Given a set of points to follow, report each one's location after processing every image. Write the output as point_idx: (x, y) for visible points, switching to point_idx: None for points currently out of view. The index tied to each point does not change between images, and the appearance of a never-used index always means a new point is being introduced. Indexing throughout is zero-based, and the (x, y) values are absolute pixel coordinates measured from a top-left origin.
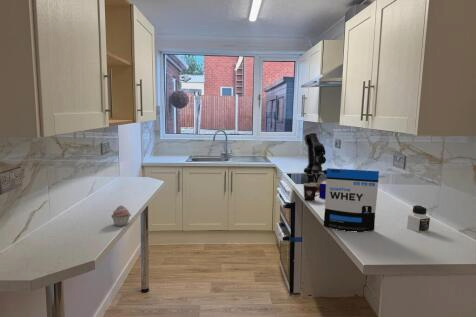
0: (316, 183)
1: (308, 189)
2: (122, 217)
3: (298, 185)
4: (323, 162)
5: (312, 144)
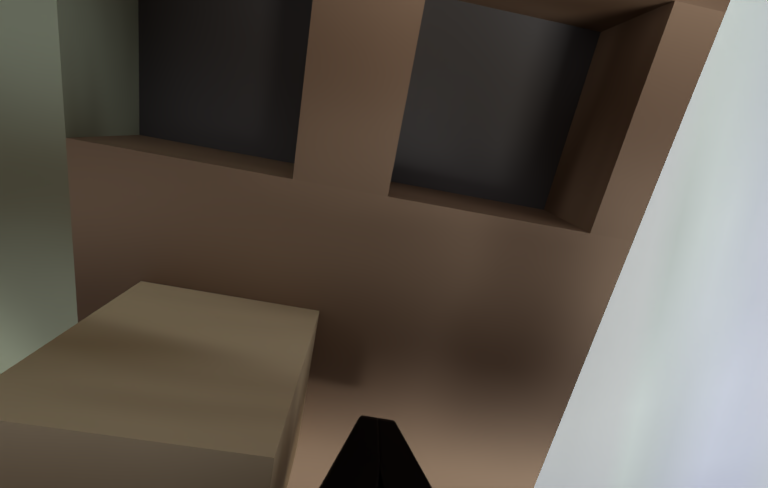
0: None
1: None
2: None
3: (726, 449)
4: None
5: None
